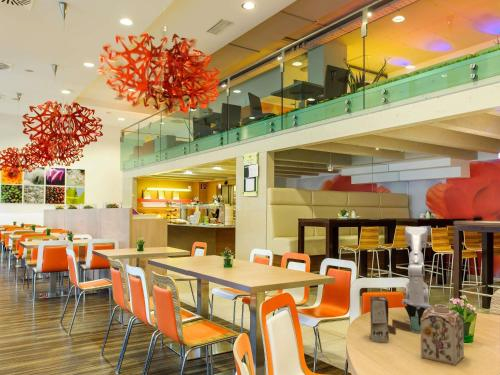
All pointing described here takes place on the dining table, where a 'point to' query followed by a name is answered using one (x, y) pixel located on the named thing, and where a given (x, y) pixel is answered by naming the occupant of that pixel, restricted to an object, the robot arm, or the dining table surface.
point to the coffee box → (379, 319)
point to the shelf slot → (398, 326)
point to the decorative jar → (442, 335)
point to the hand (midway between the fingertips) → (417, 324)
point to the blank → (415, 323)
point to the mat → (415, 331)
